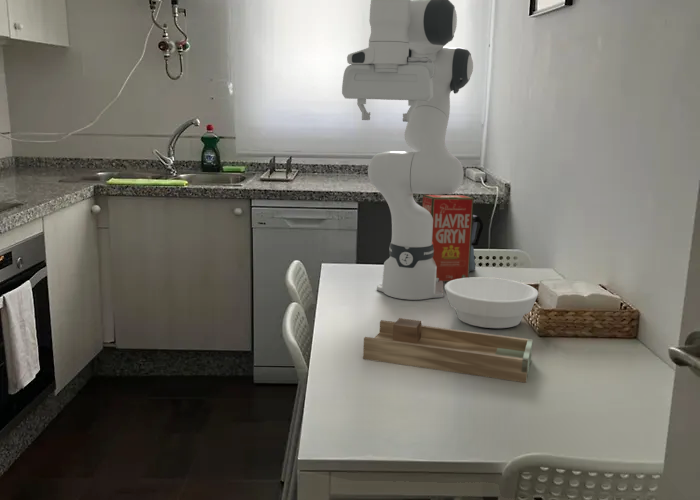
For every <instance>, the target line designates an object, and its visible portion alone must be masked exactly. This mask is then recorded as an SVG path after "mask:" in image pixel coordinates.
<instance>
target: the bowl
mask: <svg viewBox="0 0 700 500" xmlns="http://www.w3.org/2000/svg"><path fill="white" fill-rule="evenodd" d="M444 290H445V292H446V297H447V300H448V303H449V305H450V306H451V307H452V309H455V312H456V315H457V318H458V319H459V320H460V321H461V322H463V323H465V324H467V325H471V326H475V327H479V328H487V329H488V328H489V329H507V328H512V327H516V326H518V325H520V323H521V321H522V320H523V317H524V315H527V314H529V313H530V312H531V311H532V309H533V306H534V304H535V303H536V300H537V298H538V297H539V291H538V290H537V288H535V287H533V286H531V285H529V284H527V283H523V282H521V281H516V280H512V279H506V278H500V277H499V278H497V277H487V276H477V277H476V276H475V277H474V276H473V277H471V276H469V278H460V279H455V280H451V281H449V282H445V284H444Z"/></svg>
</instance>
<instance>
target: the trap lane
mask: <svg viewBox="0 0 700 500" xmlns="http://www.w3.org/2000/svg"><path fill="white" fill-rule="evenodd" d="M395 322H396V321H391V320H383V319H381V320H380V321H379V332H378V333H377V334H376V335H375V337H371V336H365V337H363V353H362V355H363V357H362V359H363V360H367V361H368V360H369V361H377V362H381V363H382V362H383V363H388V364H396V365H402V366H409V367H410V366H411V367H417V368H423V369H431V370H439V371H445V372H450V373H456V374H457V373H458V374H463V375H464V374H465V375H471V376H477V377H486V378H490V379H491V378H492V379H499V380H505V381H511V382H520V383H527V378H528V375H529V370H530V366H531V363H532V353H533V344H534V343H533V342H534V339H532V338H525V337H524V338H523V337H517V336H511V335H510V336H507V335H501V334H492V333H487V332H485V333H484V332H476V331H470V330H463V329H462V330H461V329H452V328H446V327H438V326H437V327H436V326H431V325H430V326H429V325H424V324H423V325H422V324H421V339H420V340H419V342H418V343H417V344H415V343H407V342H400V341H393V325H394V324H395Z"/></svg>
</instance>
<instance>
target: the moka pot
mask: <svg viewBox="0 0 700 500" xmlns="http://www.w3.org/2000/svg"><path fill="white" fill-rule="evenodd" d="M478 223H479V226H478ZM477 226H478V227H479V228H478V227H477ZM477 228H478V231H477ZM483 229H484V222H483V220H482V219H481V216H480V215H475V214H473V219H472V235H471V252H470V267H469V272H473V271H475V270H476V262H475V261H476V260H475V250H474V249H475V248H474V246H475V247H477V246H478V245H479V241H480V238H481V235H482V232H483ZM476 231H477V232H478V233H477V234H476ZM474 240H475V242H474Z"/></svg>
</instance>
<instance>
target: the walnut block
mask: <svg viewBox="0 0 700 500" xmlns="http://www.w3.org/2000/svg"><path fill="white" fill-rule="evenodd" d="M394 322H395V324H394V325H393V341H400V342H407V343H415V344H417V343H418V342H419V340H420V339H421V325H422V320H419V319H409V318H401V317H399V318H398V319H397V320H396V321H394Z"/></svg>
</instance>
